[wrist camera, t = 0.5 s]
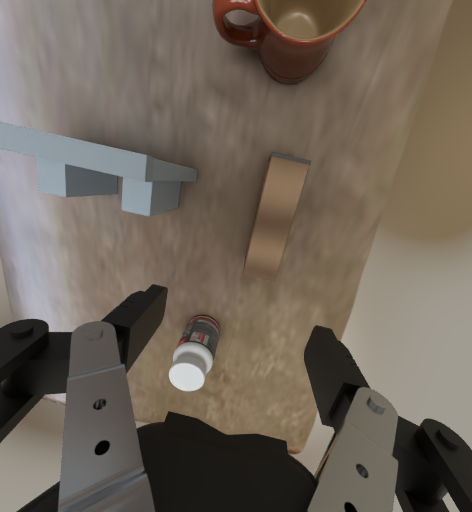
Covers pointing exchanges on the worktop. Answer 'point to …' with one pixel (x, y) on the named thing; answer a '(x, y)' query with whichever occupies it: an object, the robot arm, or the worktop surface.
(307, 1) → the mug
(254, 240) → the bed rail
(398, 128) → the worktop surface
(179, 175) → the grey two-legged bench
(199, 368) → the pill bottle
